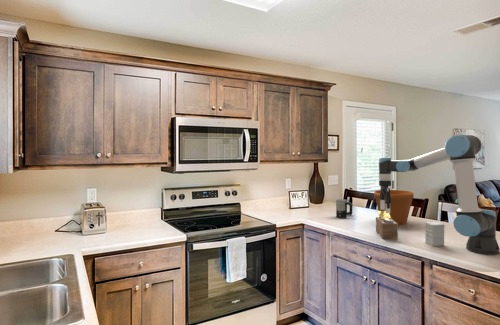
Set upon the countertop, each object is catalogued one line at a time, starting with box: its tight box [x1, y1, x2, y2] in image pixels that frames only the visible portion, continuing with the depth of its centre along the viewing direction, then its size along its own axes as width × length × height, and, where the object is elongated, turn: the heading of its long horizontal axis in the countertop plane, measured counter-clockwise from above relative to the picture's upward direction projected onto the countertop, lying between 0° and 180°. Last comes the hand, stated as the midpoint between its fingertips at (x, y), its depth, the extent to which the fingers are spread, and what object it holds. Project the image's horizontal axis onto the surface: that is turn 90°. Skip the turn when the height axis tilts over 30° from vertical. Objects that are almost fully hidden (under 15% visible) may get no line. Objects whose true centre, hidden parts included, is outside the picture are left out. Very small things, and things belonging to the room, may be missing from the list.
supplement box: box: [424, 221, 445, 247], centre depth 191 cm, size 7×7×13 cm
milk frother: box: [335, 198, 353, 219], centre depth 274 cm, size 14×16×15 cm
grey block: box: [384, 218, 393, 223], centre depth 208 cm, size 7×4×11 cm, turn 171°
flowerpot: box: [373, 189, 415, 226], centre depth 250 cm, size 28×28×24 cm
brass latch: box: [377, 210, 391, 219], centre depth 218 cm, size 1×7×8 cm
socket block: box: [375, 216, 399, 240], centre depth 214 cm, size 19×9×10 cm, turn 171°
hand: (385, 211), depth 215 cm, fingers open, 13 cm apart
